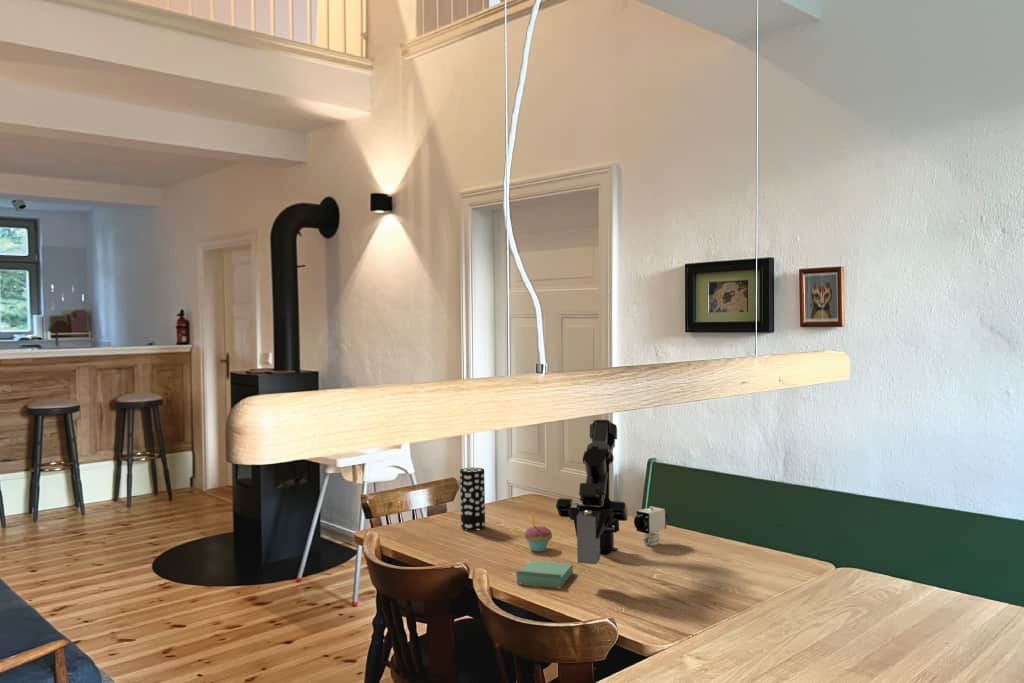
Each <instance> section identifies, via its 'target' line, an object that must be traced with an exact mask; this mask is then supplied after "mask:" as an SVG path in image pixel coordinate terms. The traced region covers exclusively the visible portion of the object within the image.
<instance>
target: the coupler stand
mask: <svg viewBox="0 0 1024 683" xmlns="http://www.w3.org/2000/svg"><path fill="white" fill-rule="evenodd" d="M573 568H574V565H573V563H565V562H564V563H563V562H552V561H540V560H531V561H530V562H528V564H526V565H525V566H524V567H523V568H522V569H518V570H516V584H517V583H521V584H520V585H522V584H527V585H526V586H532V585H536V586H535V587H542V586H546V587H545V588H552V587H559V588H558V589H561V588H562V587H563V586H564V585H565V583H566V582H567V581H568V580H569V578H570V577H571V576H572V575H573V573H574V571H573V570H574V569H573ZM571 574H572V575H571ZM570 575H571V576H570ZM566 580H567V581H566ZM565 581H566V582H565ZM564 582H565V583H564ZM561 586H562V587H561ZM560 587H561V588H560Z"/></svg>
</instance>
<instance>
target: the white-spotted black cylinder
mask: <svg viewBox="0 0 1024 683" xmlns="http://www.w3.org/2000/svg"><path fill="white" fill-rule="evenodd" d="M459 484H460V485H459V487H460V488H459V490H460V498H459V499H460V529H461V528H462V529H467V530H477V529H482V530H484V529H486V501H485V500H486V497H485V496H486V493H485V492H486V491H485V490H486V489H485V468H482V467H465V468H464V467H463V468H461V469H459ZM483 528H484V529H483ZM462 529H461V530H462Z"/></svg>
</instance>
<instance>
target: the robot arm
mask: <svg viewBox="0 0 1024 683" xmlns="http://www.w3.org/2000/svg"><path fill="white" fill-rule="evenodd" d="M589 439H590V440H591V443H589V444H588V445H587V447H586V451H585V450H584V452H583V454H582V455H583V456H582V463H583V464H584V468H585V474H586V478H585V482H580V483H579V492H578V496H579V497H580V498H579V501H580V502H581V503H578V502H573V499H572V498H569V497H568V498H565V497H559V498H557V500H556V504H555V507H556V510H557V512H558V516H559V517H562V518H569V519H570V520H572V521H573V523H574V524H573V525H574V529H575V535H576V537H577V515H578V514H579V513H580V512H581V511H585V510H591V511H592V512H599V515H600V521H599V525H598V529H597V539H599V537H600V554H601V555H607V554H611V553H613V552H617V551H618V550H619V549H618V547H615V546H614V544H615V543H614V538H615V537H614V533H616V534H617V533H618V532H620V521H621V522H627V521H628V515H629V512H628V509H627V504H626V503H625V501H618V500H617V501H616V500H615V501H614V500H611V498H610V486H611V485H610V482H611V480H610V478H611V473H610V472H611V465H612V463H613V462H614V458H615V457H614V455H613V453H612V451H613V450H614V448H615V446H616V440H618V427H617V424H615V423H613V422H611V420H608V419H595V420H593V422H592V423H591V424H589Z"/></svg>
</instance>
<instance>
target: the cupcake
mask: <svg viewBox="0 0 1024 683" xmlns="http://www.w3.org/2000/svg"><path fill="white" fill-rule="evenodd" d="M530 513H531V514H530V516H531V522H532V526H531V527H530V526H529V527H528V528H527V529H526V531H524V537H523V538H524V539H526V540H527V542H528V545H529V548H530V551H532V550H533V551H532V552H544V551H546V550H547V547H548V544H549V542H550V540H552V538H553V534H552V531H551V529H550V528H548V527H546V526H542V525H536V524H535V517H534V513H533V511H530ZM543 550H544V551H543Z"/></svg>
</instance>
